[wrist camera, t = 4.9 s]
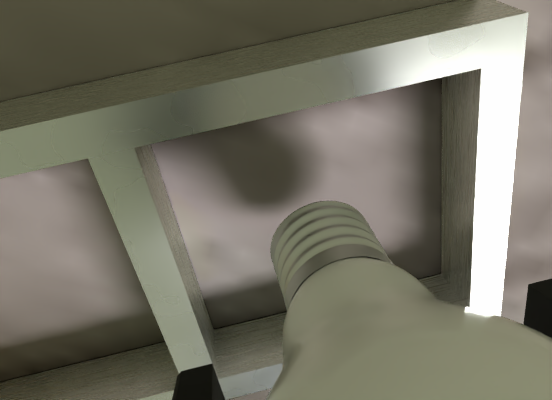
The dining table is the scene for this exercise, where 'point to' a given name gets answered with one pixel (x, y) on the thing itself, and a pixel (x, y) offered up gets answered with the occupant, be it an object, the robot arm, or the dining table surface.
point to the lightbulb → (387, 324)
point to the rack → (261, 104)
